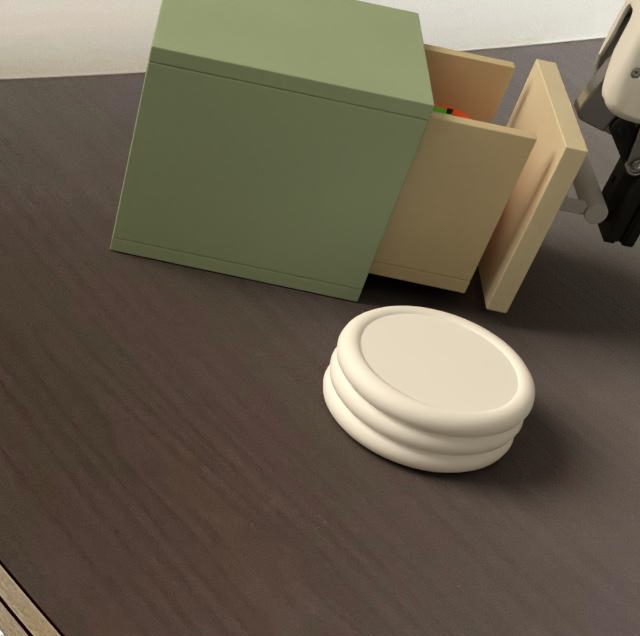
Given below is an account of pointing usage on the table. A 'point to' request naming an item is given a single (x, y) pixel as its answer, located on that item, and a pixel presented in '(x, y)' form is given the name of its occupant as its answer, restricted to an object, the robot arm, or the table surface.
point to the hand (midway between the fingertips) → (613, 232)
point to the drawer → (487, 179)
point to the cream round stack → (427, 389)
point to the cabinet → (274, 139)
